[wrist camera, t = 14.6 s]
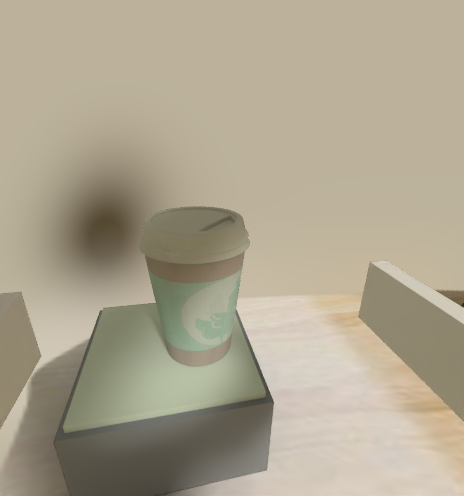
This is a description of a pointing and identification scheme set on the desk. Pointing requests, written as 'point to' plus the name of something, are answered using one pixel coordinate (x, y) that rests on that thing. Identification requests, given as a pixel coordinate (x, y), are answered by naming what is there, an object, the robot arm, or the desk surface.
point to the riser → (160, 412)
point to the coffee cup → (195, 278)
